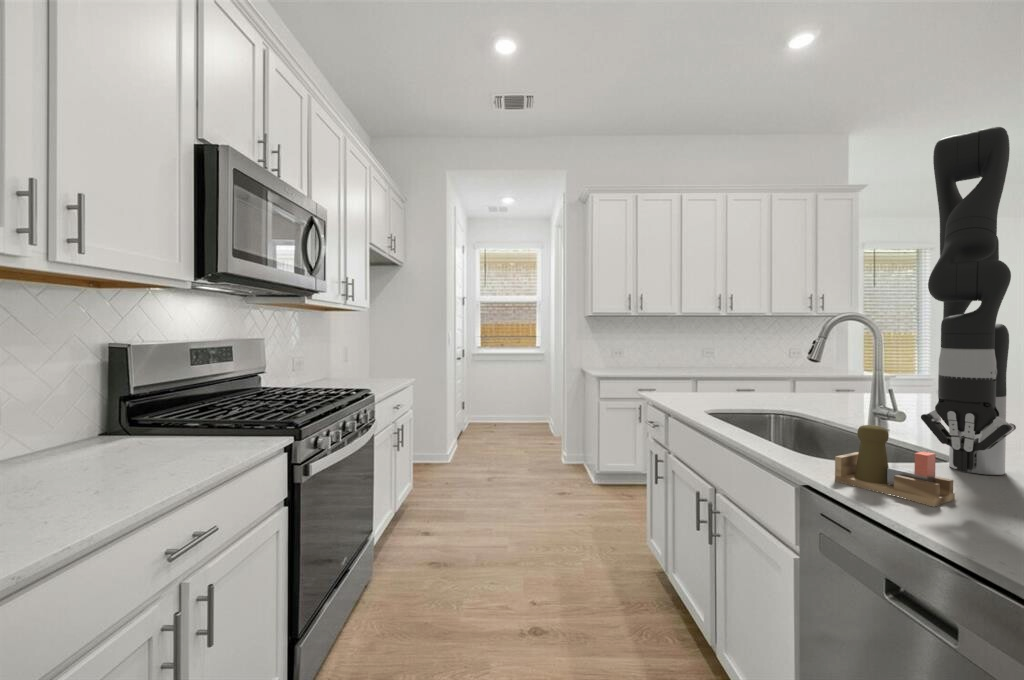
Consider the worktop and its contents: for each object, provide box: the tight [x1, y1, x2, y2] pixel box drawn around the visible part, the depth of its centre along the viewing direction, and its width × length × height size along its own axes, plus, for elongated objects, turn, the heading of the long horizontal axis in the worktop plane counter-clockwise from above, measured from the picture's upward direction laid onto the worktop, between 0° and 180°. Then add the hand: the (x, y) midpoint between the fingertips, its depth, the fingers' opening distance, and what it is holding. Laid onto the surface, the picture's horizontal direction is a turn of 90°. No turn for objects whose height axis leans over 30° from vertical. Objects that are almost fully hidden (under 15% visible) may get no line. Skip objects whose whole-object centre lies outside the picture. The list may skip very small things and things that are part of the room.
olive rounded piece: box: [854, 424, 890, 484], centre depth 100 cm, size 6×6×11 cm
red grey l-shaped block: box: [887, 451, 937, 485], centre depth 94 cm, size 3×6×7 cm, turn 27°
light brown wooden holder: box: [834, 451, 956, 507], centre depth 97 cm, size 8×17×5 cm, turn 27°
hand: (964, 470), depth 87 cm, fingers closed
